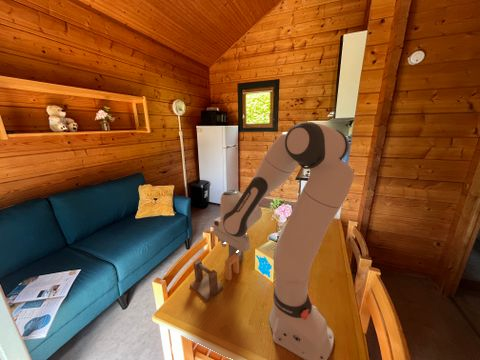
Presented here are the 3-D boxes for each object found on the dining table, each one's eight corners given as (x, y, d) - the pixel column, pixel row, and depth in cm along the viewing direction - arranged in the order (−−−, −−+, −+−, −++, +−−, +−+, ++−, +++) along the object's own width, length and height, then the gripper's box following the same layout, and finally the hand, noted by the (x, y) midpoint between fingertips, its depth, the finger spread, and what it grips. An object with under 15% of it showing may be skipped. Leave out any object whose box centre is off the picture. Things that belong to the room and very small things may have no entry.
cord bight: (239, 272, 99) (238, 255, 96) (229, 280, 94) (228, 263, 91) (235, 270, 101) (235, 253, 98) (225, 278, 96) (224, 260, 93)
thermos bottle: (244, 252, 113) (243, 207, 105) (241, 262, 106) (240, 215, 98) (230, 251, 115) (229, 206, 106) (227, 260, 108) (225, 213, 99)
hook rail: (223, 288, 90) (222, 268, 87) (207, 301, 84) (205, 280, 80) (205, 274, 98) (204, 255, 95) (190, 286, 92) (187, 266, 88)
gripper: (253, 230, 85) (252, 257, 89) (220, 214, 98) (221, 238, 102) (243, 236, 81) (243, 264, 85) (210, 219, 93) (211, 244, 98)
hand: (230, 250), depth 94 cm, fingers open, 8 cm apart
